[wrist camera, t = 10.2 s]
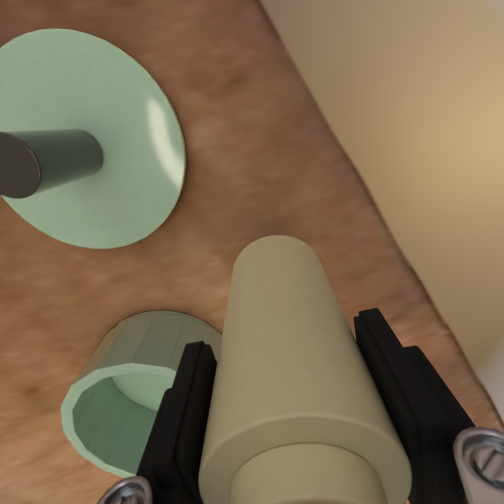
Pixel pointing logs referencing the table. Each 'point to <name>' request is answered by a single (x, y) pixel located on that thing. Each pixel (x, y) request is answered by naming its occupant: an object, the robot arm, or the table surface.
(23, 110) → the lid
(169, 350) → the pot
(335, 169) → the table surface
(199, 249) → the table surface
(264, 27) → the table surface
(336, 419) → the spice bottle
